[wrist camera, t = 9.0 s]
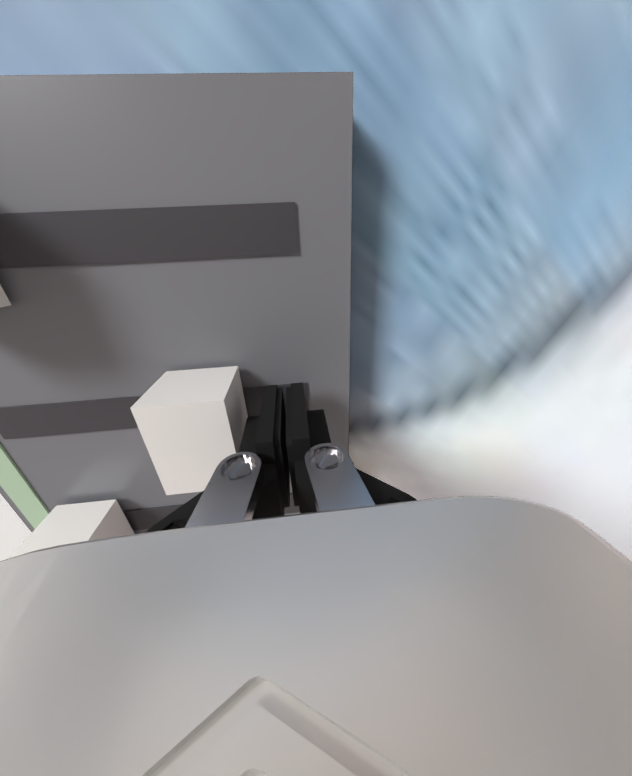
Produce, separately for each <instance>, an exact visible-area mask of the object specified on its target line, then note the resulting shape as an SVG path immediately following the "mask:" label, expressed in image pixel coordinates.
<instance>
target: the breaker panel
mask: <svg viewBox="0 0 632 776" xmlns="http://www.w3.org/2000/svg"><path fill="white" fill-rule="evenodd" d="M352 130H353V72H295V73H196V74H96V75H0V493H1V495H2V496H3V497H4V498H5V500H6V501H7V502H8V503H9V505H10V506H11V507H12V508H13V510H14V511H15V512H16V513H17V515H18V516H19V517H20V518H21V519H22V521H23V522H24V523H25V524H26V526H27V527H28V528H29V529H30V531H31V532H32V533H31V534H30V535H29V536H28V538H27V539H26V540H25V541H24V542H23V543H22V544H21V545H20V546H19V548H18V549H17V550H16V551H15V552H14V553H13V554H12V555H11V556H10V558H12V557H15V556H19V555H22V554H25V553H28V552H32V551H35V550H40V549H44V548H49V547H53V546H57V545H63V544H70V543H76V542H82V541H89V540H95V539H101V538H108V537H116V536H124V535H131V534H139V533H145V532H146V531H147V530H148V529H150V528H151V527H152V526H153V525H155V524H156V523H157V522H159V521H160V520H162V519H163V518H165V517H166V516H167V515H169V514H170V513H172V512H173V511H175V510H176V509H178V508H179V507H180V506H182V505H183V504H185V503H186V502H188V501H189V500H191V499H192V498H193V497H195V496H196V495H198V494H199V493H201V492H193V493H183V494H173V495H166V493H165V491H164V488H163V486H162V484H161V481H160V479H159V476H158V474H157V471H156V469H155V467H154V464H153V462H152V459H151V457H150V455H149V452H148V450H147V447H146V445H145V443H144V440H143V438H142V435H141V433H140V431H139V428H138V426H137V423H136V421H135V419H134V416H133V414H132V411H131V409H130V408H131V407H132V406H133V405H134V404H135V403H136V402H137V401H138V399H139V398H140V397H141V396H142V395H143V394H144V393H145V392H146V391H147V390H148V389H149V388H150V387H151V386H152V385H153V384H154V383H155V382H156V381H157V380H158V379H159V378H160V377H161V376H162V375H163V374H164V373H165V372H166V371H177V370H190V369H204V368H217V367H230V366H238V367H239V372H240V378H241V383H242V388H243V394H244V399H245V404H246V410H247V415H248V416H258V415H260V409H261V403H262V397H263V391H264V386H268V385H277V386H278V388H283V396H284V404H285V412H286V387H291V383H301V382H303V387H304V395H305V403H306V411H310V410H320V409H324V413H325V417H326V422H327V426H328V430H329V435H330V439H331V443H332V444H336V445H339V446H341V447H342V448H344V449H345V450H346V452H347V453H349V373H350V292H351V211H352ZM294 514H300V510H299V506H294V500H293V492H292V485H291V477H290V507H286V508H285V515H294Z"/></svg>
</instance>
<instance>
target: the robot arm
mask: <svg viewBox="0 0 632 776" xmlns="http://www.w3.org/2000/svg"><path fill="white" fill-rule="evenodd" d="M290 477H291V485H292V492H293V500H294V506H299V510H300V514H294V515H285V508H286V507H290ZM0 776H632V562H631V561H630V560H629V559H628V558H626V557H625V556H624V555H623V554H622V553H620V552H619V551H618V550H617V549H615V548H614V547H613V546H612V545H611V544H609V543H608V542H607V541H606V540H604V539H603V538H602V537H601V536H599V535H598V534H597V533H595V532H594V531H593V530H591V529H590V528H588V527H587V526H586V525H584V524H583V523H581V522H580V521H578V520H576V519H575V518H573V517H571V516H570V515H568V514H565V513H563V512H561V511H559V510H557V509H554V508H551V507H548V506H545V505H541V504H537V503H534V502H529V501H524V500H518V499H513V498H505V497H494V496H463V497H450V498H437V499H425V500H416V499H415V498H413V497H412V496H410V495H408V494H406V493H404V492H402V491H400V490H398V489H396V488H394V487H392V486H390V485H388V484H386V483H384V482H382V481H380V480H378V479H376V478H374V477H372V476H370V475H368V474H366V473H364V472H362V471H360V470H358V469H356V468H355V466H354V464H353V462H352V460H351V458H350V457H349V455H348V453H347V452H346V450H345V449H344V448H342V447H341V446H339V445H336V444H332V443H331V439H330V435H329V430H328V426H327V422H326V417H325V413H324V409H320V410H310V411H306V403H305V395H304V387H303V382H301V383H291V387H286V412H285V404H284V396H283V388H278V386H277V385H268V386H264V391H263V397H262V403H261V409H260V415H258V416H248V417H247V420H246V424H245V428H244V432H243V436H242V441H241V445H240V449H239V452H238V453H235V454H232V455H230V456H228V457H226V458H225V459H223V460H222V461H221V462H220V463H219V464H218V466H217V467H216V469H215V471H214V473H213V475H212V477H211V479H210V481H209V482H208V484H207V486H206V488H205V490H203V491H202V492H201V493H199V494H198V495H196V496H195V497H193V498H192V499H191V500H189V501H188V502H186V503H185V504H183V505H182V506H180V507H179V508H178V509H176V510H175V511H173V512H172V513H170V514H169V515H167V516H166V517H165V518H163V519H162V520H160V521H159V522H157V523H156V524H155V525H153V526H152V527H151V528H150V529H148V530H147V531H146V532H145V533H139V534H131V535H124V536H116V537H108V538H101V539H95V540H89V541H82V542H76V543H70V544H63V545H57V546H53V547H49V548H44V549H40V550H35V551H32V552H28V553H25V554H22V555H19V556H15V557H12V558H9V559H6V560H3V561H0Z"/></svg>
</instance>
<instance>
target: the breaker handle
mask: <svg viewBox="0 0 632 776" xmlns="http://www.w3.org/2000/svg"><path fill="white" fill-rule="evenodd" d="M130 409H131V411H132V414H133V416H134V419H135V421H136V423H137V426H138V428H139V431H140V433H141V435H142V438H143V440H144V443H145V445H146V447H147V450H148V452H149V455H150V457H151V459H152V462H153V464H154V467H155V469H156V471H157V474H158V476H159V479H160V481H161V484H162V486H163V488H164V491H165V493H166V495H173V494H183V493H193V492H202V491H203V490H205V488H206V486H207V484H208V482H209V481H210V479H211V477H212V475H213V473H214V471H215V469H216V467H217V466H218V464H219V463H220V462H221V461H222V460H223V459H225V458H226V457H228V456H230V455H232V454H235V453H238V452H239V449H240V445H241V441H242V436H243V432H244V428H245V424H246V420H247V417H248V415H247V410H246V404H245V399H244V394H243V388H242V383H241V378H240V372H239V367H238V366H230V367H217V368H204V369H190V370H177V371H166V372H165V373H164V374H163V375H162V376H161V377H160V378H159V379H158V380H157V381H156V382H155V383H154V384H153V385H152V386H151V387H150V388H149V389H148V390H147V391H146V392H145V393H144V394H143V395H142V396H141V397H140V398H139V399H138V401H137V402H136V403H135V404H134V405H133V406H132V407H131V408H130Z"/></svg>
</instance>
